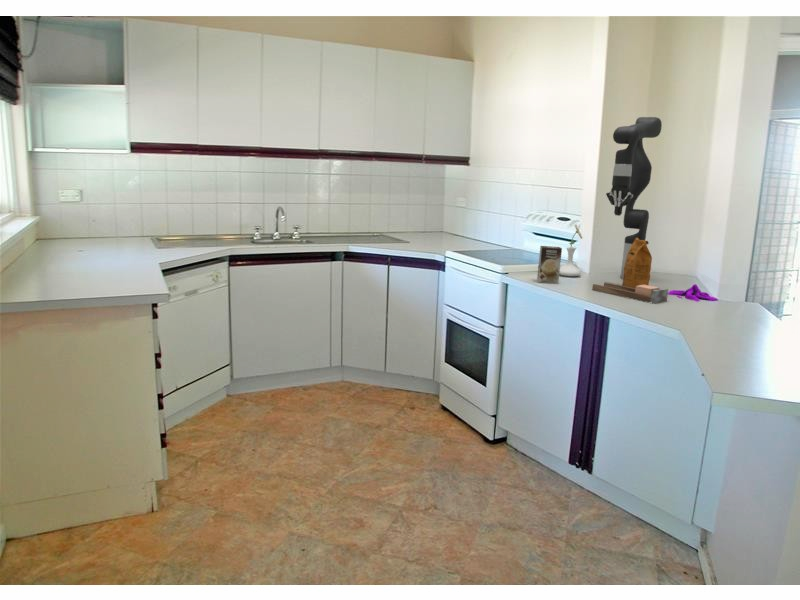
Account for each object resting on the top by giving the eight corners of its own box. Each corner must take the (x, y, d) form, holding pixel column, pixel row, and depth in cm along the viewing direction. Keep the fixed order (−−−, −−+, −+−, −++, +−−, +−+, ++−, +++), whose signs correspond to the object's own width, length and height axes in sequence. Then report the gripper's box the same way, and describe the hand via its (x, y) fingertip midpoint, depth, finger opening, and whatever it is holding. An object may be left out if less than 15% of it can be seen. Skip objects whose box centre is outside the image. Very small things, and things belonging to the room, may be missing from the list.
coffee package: (640, 285, 296) (646, 237, 292) (650, 290, 284) (657, 241, 279) (619, 284, 296) (624, 236, 292) (628, 290, 284) (634, 240, 279)
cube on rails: (605, 287, 287) (606, 276, 286) (666, 301, 264) (668, 289, 263) (592, 289, 281) (593, 278, 280) (653, 303, 259) (655, 291, 257)
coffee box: (538, 282, 294) (541, 247, 290) (536, 279, 300) (539, 245, 296) (558, 283, 293) (562, 248, 289) (556, 281, 299) (560, 246, 296)
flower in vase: (576, 278, 306) (581, 226, 301) (553, 275, 312) (557, 223, 307) (584, 275, 317) (590, 224, 312) (562, 272, 323) (567, 222, 318)
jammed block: (642, 296, 271) (644, 284, 270) (657, 299, 265) (659, 287, 264) (634, 297, 267) (635, 285, 266) (649, 301, 262) (651, 289, 261)
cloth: (660, 292, 285) (662, 278, 283) (702, 293, 285) (704, 280, 284) (682, 304, 263) (684, 289, 262) (728, 305, 263) (730, 290, 262)
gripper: (640, 175, 275) (636, 216, 279) (614, 174, 285) (609, 213, 289) (630, 175, 271) (625, 217, 275) (603, 174, 281) (599, 214, 285)
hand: (617, 215), depth 282 cm, fingers closed
